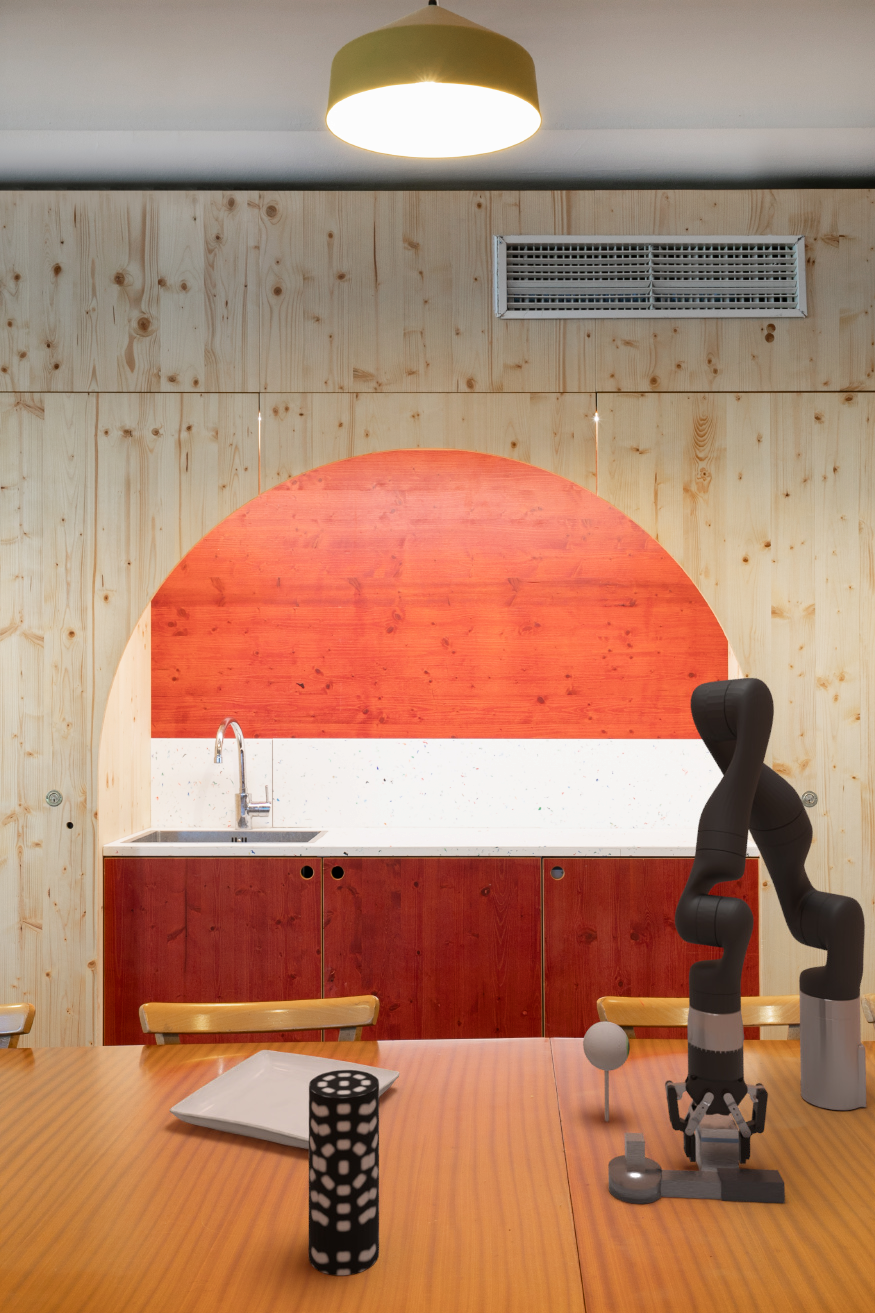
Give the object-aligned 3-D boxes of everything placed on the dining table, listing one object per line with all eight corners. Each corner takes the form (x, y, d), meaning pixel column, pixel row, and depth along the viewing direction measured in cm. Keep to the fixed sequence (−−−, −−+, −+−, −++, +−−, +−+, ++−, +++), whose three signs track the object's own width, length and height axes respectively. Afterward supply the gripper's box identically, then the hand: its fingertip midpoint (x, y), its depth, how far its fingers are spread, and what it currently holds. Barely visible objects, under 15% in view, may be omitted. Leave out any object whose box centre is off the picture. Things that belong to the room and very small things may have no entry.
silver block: (731, 1160, 139) (731, 1114, 139) (739, 1178, 134) (738, 1130, 134) (694, 1159, 139) (694, 1112, 139) (701, 1177, 134) (700, 1128, 134)
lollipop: (630, 1133, 147) (629, 1032, 148) (582, 1128, 149) (581, 1029, 149) (630, 1113, 154) (629, 1016, 155) (584, 1109, 156) (584, 1013, 156)
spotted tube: (310, 1237, 120) (310, 1071, 120) (378, 1233, 120) (378, 1069, 121) (306, 1278, 111) (307, 1099, 112) (379, 1274, 112) (379, 1096, 113)
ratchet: (774, 1183, 132) (773, 1130, 133) (788, 1210, 125) (787, 1155, 126) (606, 1176, 134) (606, 1124, 135) (610, 1203, 127) (610, 1148, 128)
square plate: (165, 1133, 149) (165, 1107, 149) (263, 1068, 174) (263, 1046, 174) (323, 1166, 138) (323, 1138, 138) (402, 1092, 164) (402, 1068, 164)
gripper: (761, 1031, 140) (763, 1150, 140) (659, 1028, 141) (660, 1146, 141) (774, 1050, 133) (776, 1176, 132) (667, 1047, 134) (668, 1172, 133)
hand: (716, 1160), depth 137 cm, fingers open, 6 cm apart
